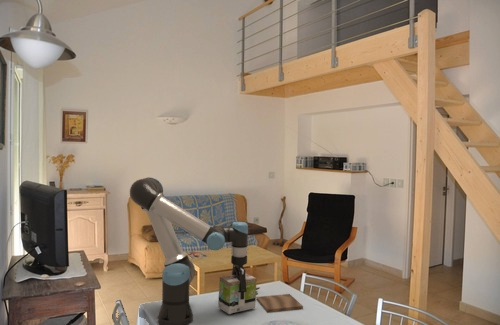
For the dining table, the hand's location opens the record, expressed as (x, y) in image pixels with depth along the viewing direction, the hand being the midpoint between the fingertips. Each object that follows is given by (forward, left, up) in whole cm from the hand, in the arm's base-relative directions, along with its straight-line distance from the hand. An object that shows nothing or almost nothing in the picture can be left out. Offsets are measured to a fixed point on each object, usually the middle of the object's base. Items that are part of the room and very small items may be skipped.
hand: (238, 301), depth 190 cm
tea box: (0, 0, -3) cm, 4 cm away
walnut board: (+21, +1, -4) cm, 22 cm away
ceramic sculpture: (+9, +20, -4) cm, 22 cm away
